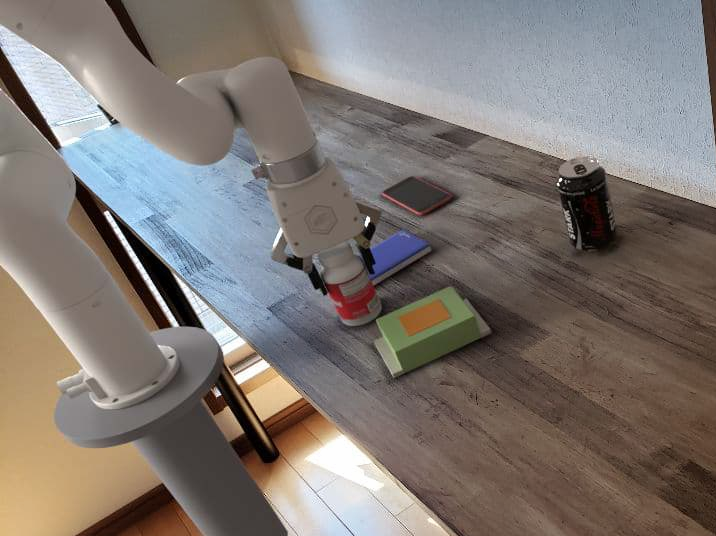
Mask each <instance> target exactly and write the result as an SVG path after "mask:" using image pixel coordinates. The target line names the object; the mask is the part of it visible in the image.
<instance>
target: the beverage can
mask: <svg viewBox="0 0 716 536" xmlns="http://www.w3.org/2000/svg"><path fill="white" fill-rule="evenodd" d="M558 174H559V175H558V176H557V179H556V186H557V190H558V195H559V200H560V205H561V209H562V213H563V217H564V222H565V226H566V230H567V234H568V238H569V242H570V245H571V246H572V247H573V248H575V249H576V250H578V251H583V252H587V253H593V252H594V253H595V252H598V251H599V252H600V251H602V250H604V249H605V248H607V247H608V246H609V245H611V244H612V243H613V242H614V241H615V240H616V238H617V236H618V232H617V231H618V230H617V225H616V218H615V214H614V208H613V202H612V197H611V193H610V192H611V191H610V187H609V182H608V177H607V172H606V170H605V168H604V167H603V166H602V165H600V160H599V159H598V158H596V157H593V156H579V157H578V156H577V157H574V158H571V159H569V160H567V161H565V162H563V163H562V164H561V165H560V166H559V168H558Z"/></svg>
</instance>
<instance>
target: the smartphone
mask: <svg viewBox="0 0 716 536" xmlns="http://www.w3.org/2000/svg"><path fill="white" fill-rule="evenodd" d="M381 194H382V196H383V197H385V198H387V199H389V201H390V200H391V201H392V202H394V203H396V204H397V205H400V206H402V207H403V208H406V209H407V210H408V211H411V212H412V213H414V214H416V215H418V216H424V215H427V214H428V213H430V212H431V211H433V210H436V209H437V208H439V207H440V206H442V205H444V204H446V203H447V202H449V201H450V200H452V199H453V195H452V193H450V192H447V191H445V190H444V189H442V188H439V187H437V186H435V185H433V184H431V183H429V182H428V181H425V180H423V179H421V178H419V177H417V176H415V175H411V176H407V177H406V178H404V179H402V180H400V181H399V182H397V183H395V184H393V185H392V186H389V187H388V188H386V189H384V190H383V191H382V192H381Z"/></svg>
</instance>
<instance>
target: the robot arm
mask: <svg viewBox="0 0 716 536" xmlns="http://www.w3.org/2000/svg"><path fill="white" fill-rule="evenodd" d="M0 25H1V26H2V27H4V28H5V29H7V30H8V31H9V32H11V33H12V34H14V35H16V36H17V37H19V38H20V39H22V40H23V41H25V42H27V43H28V44H29V45H31V46H32V47H34V48H35V49H36V50H38V51H40V52H41V53H43V54H44V55H46V56H47V57H49V58H50V59H52V60H53V61H55V62H56V63H57V64H58V65H60V66H61V67H62V68H63V69H64V70H65V71H66V72H67V73H68V74H69V75H70V77H71V78H72V79H73V80H74V81H75V82H76V84H78V86H80V88H82V89H83V90H84V91H85V92H86V93H87V94H88V95H89V96H90V97H91V98H92V99H93V100H94V101H95V102H96V103H97V104H98V105H99V106H100V107H101V108H102V109H103V110H105V111H106V113H108V114H109V115H110V116H111V117H112V118H113V119H115V120H116V121H117V122H119V123H120V124H121V125H122V126H124V127H125V128H126V129H128V130H129V131H131V132H132V133H134V134H135V135H137V136H139V137H140V138H141V139H143V140H144V141H146V142H147V143H149V144H151V145H152V146H153V147H156V148H157V149H159V150H160V151H161V152H162V153H165V154H167V155H168V156H170V157H172V158H173V159H176V160H178V161H180V162H183V163H185V164H188V165H193V166H197V167H199V166H201V167H206V166H211V165H214V164H216V163H219V162H221V161H222V160H224V159H225V157H226V156H227V155H228V154H229V153H230V151H231V150H232V149H231V148H232V146H233V143H234V139H235V131H237V129H239V128H241V129H243V130H244V131H245V133H246V135H247V137H248V139H249V142H250V144H251V146H252V148H253V149H254V152H255V154H256V156H257V158H258V160H259V162H258V163H257V165H256V167H255V168H252V169H251V170H250V171H251V173H252V175H253V177H254V179H255V181H257V180H260V179H262V180H263V179H265V180H266V182H265V188H266V193H267V196H268V200H269V203H270V205H271V208H272V211H273V215H274V216H275V218H276V221H277V224H278V225H279V228H280V229H279V231H278V233H277V236H276V238H275V240H274V242H273V245H272V247H271V249H270V251H269V257H270V259H271V260H272V261H274V262H276V263H279V264H282V265H286V266H288V267H290V268H292V269H295V270H298V271H302V272H303V273H304V274H306V275H307V276H308V279H309V280H310V282H311V285H312V286H313V289H314V291H317V290H320V292H321V293H322V295H323V297H325V296H327V295H328V294H329V293H328V291H327V289H326V287H325V285H324V283H323V281H322V278H321V275H320V273H319V271H318V269H317V267H316V265H315V263H314V262H313V259H314V258H313V257H314V255H317V253H319V252H322V251H324V250H326V249H329V248H331V247H333V246H336V245H338V244H340V243H343V242H345V241H347V242H348V241H349V240H351V239H352V240H354V241H355V243H356V244H355V247H356V249H357V251H358V254H359V255H360V256H361V258H362V260H363V262H364V265H365V267H366V269H367V270H368V272H369V274H370V275H371V274H372V275H373V274H375V271H374V269H373V267H372V266H373V265H375V264H376V262H375V259H374V257H373V255H372V252H371V250H370V249H371V242H372V239H373V237H374V235H375V233H376V229H377V225H379V221H380V219H381V217H382V214H383V212H382V211H381V210H380V208H379V207H378V206H374V205H372V204H369V203H366V202H363V201H362V200H361V201H360V200H358V199H356V198H354V196H353V194H352V191H351V190H350V187H349V186H348V183H347V182H346V180H345V178H344V176H343V174H342V172H341V171H340V170H339V168H338V166H337V164H336V163H335V162H334V161H333V160H332V159H331V158H330V157H327V156H325V154H324V152H323V150H322V147H321V145H320V143H319V140H318V138H317V136H316V133H315V130H314V129H313V126H312V124H311V122H310V119H309V117H308V114H307V112H306V110H305V109H306V108H305V107H304V104H303V102H302V100H301V97H300V95H299V92H298V90H297V88H296V86H295V83H294V81H293V79H292V76H291V73H290V71H289V69H288V67H287V65H286V64H285V63H284V62H283V61H282V60H281V59H280V58H277V57H275V56H259V57H256V58H252V59H250V60H247V61H244V62H242V63H240V64H237V65H236V66H234V67H230V68H224V69H219V70H211V71H202V72H197V73H193V74H189V75H186V76H184V77H183V78H181V79H179V80H178V81H177V82H176V81H174V80H173V79H171V78H170V77H169V76H168V75H166V74H165V73H163V72H162V71H161V70H160V69H159V68H157V67H156V66H155V65H154V64H153V63H151V61H149V59H147V57H145V56H144V55H143V54H142V53H141V52H140V50H139V49H137V47H136V46H135V45H134V44H133V42H132V41H131V39H130V38H129V37H128V35H127V34H126V32H125V31H124V29H123V27H122V26H121V23H120V21H119V20H118V18H117V16H116V15H115V13H114V11H113V9H112V8H111V7H110V5H108V3H107V2H106V1H105V0H0ZM76 191H77V184H76V180H75V176H74V174H73V172H72V169H71V168H70V166H69V165H68V163H67V162H66V160H65V159H64V158H63V156H62V155H61V154H60V153H59V151H58V150H56V148H55V147H54V145H52V144H51V143H50V142H49V141H48V139H47V138H46V137H45V136H44V135H43V133H42V132H41V131H40V130H39V129H38V128H37V127H36V126H35V124H33V122H32V121H31V120H30V119H29V118H28V117H27V116H26V115H25V113H24V112H23V111H22V110H21V109H20V108H19V106H17V104H16V103H15V102H14V101H13V100H12V99H11V98H10V97H9V96H8V94H7V93H5V92H4V90H2V89H1V88H0V267H2V269H3V270H5V272H6V273H8V274H9V276H10V277H11V278H12V280H13V281H15V282H16V284H17V285H18V286H19V287H20V288H21V289H22V291H23V292H24V294H25V295H26V296H27V297H28V298H29V300H30V301H31V303H33V305H34V307H35V308H36V309H37V310H38V311H39V312H40V314H41V315H42V316H43V318H44V319H45V320H46V322H47V323H48V325H49V326H50V327H51V328H52V330H53V331H54V332H55V333H56V335H57V336H58V337H59V339H60V340H61V341H62V343H63V344H64V345H65V346H66V348H67V349H68V350H69V352H70V353H71V354H72V356H73V357H74V358H75V360H76V361H77V362H78V364H79V365H80V366H81V367H82V368H81V369H79V370H78V373H77V374H74V375H72V376H68V377H65V378H63V379H62V380H58V381H57V382H56V386H57V388H58V390H59V391H60V393H61V394H68V395H69V397H70V398H75V397H77V396H79V395H81V394H83V393H85V392H87V391H88V392H89V393H90V397H91V399H92V401H93V402H94V403H95V405H97V406H98V407H100V408H103V409H111V410H112V409H121V408H126V407H129V406H132V405H135V404H138V403H140V402H142V401H144V400H146V399H148V398H150V397H151V396H153V395H155V394H156V393H157V392H159V391H160V390H162V389H163V388H164V387H165V386H166V385H167V384H168V383H169V382H170V381H171V380H172V379H173V378H174V376H175V375H176V373H177V371H178V369H179V366H180V358H179V356H178V355H177V353H176V352H175V351H174V349H172V348H170V347H167V346H159V345H157V344H156V342H155V341H154V339H153V338H152V336H151V335H150V332H149V330H148V328H147V327H146V326H145V325H144V322H143V321H142V319H141V318H140V317H139V316H138V314H137V312H136V311H135V310H134V308H133V306H132V305H131V303H130V302H129V301H128V298H126V296H125V294H124V293H123V292H122V290H121V288H120V287H119V285H118V284H117V282H116V281H115V279H114V278H113V276H112V274H111V273H110V272H109V271H108V269H107V268H106V266H105V265H104V263H103V262H102V260H101V259H100V258H99V256H98V255H97V254H96V253H95V251H94V250H93V249H92V248H91V247H90V245H88V244H87V242H85V240H83V239H82V238H81V237H80V236H79V235H78V234H77V233H76V232H75V231H74V230H73V228H72V227H71V226H70V224H69V223H68V217H69V213H70V211H71V209H72V206H73V203H74V201H75V197H76ZM362 215H365V216H367V217H366V220H365V221H364V219H363V216H362ZM287 246H288V248H289V249H290V251H291V252H292V253H287V252H285V250H286V248H287Z"/></svg>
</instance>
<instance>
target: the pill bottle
mask: <svg viewBox="0 0 716 536" xmlns="http://www.w3.org/2000/svg"><path fill="white" fill-rule="evenodd" d="M316 257H317V259H318V262H319V264H320V265H321V268H320V273H319V275H320V277H321V279H322V281H323V283H324V285H325V287H326V290H327V292H328V293H327V294H328V296H329V297H330V300H331V302H332V304H333V306H334V309H335V310H336V312H337V315H338V316H339V319H340V320H341V322H342V324H344V325H346V326H349V327H359V326H364V325H366V324H368V323H370V322H373V321H374V320H376V319H377V318H378V316H380V314H381V311H382V308H383V307H382V303H381V300H380V297H379V295H378V293H377V291H376V289H375V285H374V286H373V284H372V281H371V279H370V277H369V274H368V272H367V270H366V267H365V265H364V262H363V260H362V259H361V258H360V257H359V255H357V254H356V253H354V250H353V248H352V246H351V243H350V242H349V241H348V240H347V241H345V242H343V243H340V244H338V245H336V246H333V247H331V248H329V249H326V250H324V251H322V252H319V253H317V254H316Z"/></svg>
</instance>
